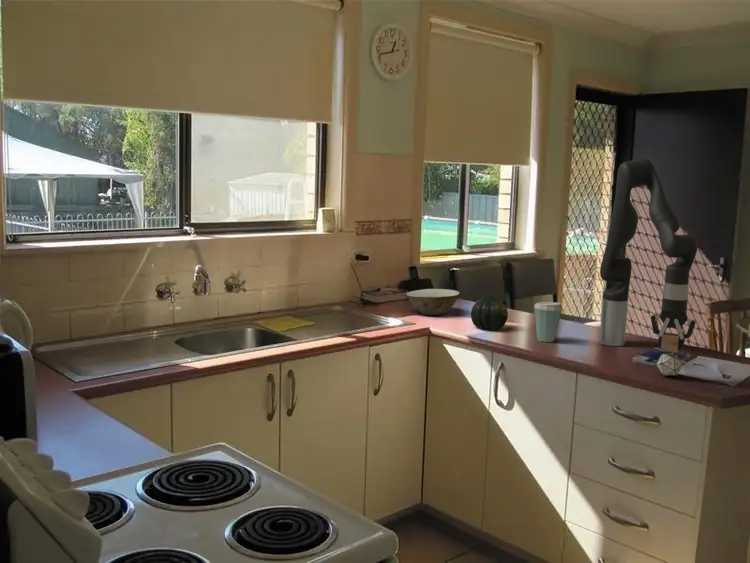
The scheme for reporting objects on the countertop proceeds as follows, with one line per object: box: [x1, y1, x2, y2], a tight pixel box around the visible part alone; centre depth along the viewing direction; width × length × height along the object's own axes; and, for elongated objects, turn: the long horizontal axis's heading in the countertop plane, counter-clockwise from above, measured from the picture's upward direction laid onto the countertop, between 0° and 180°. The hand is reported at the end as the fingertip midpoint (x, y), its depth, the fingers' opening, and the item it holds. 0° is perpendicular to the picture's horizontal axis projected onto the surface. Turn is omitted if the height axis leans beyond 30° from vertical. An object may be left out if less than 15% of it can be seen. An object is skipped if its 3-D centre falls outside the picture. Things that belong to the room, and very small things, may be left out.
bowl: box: [405, 288, 461, 316], centre depth 331 cm, size 24×24×10 cm
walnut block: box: [660, 331, 680, 354], centre depth 239 cm, size 5×5×5 cm
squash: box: [470, 292, 509, 331], centre depth 304 cm, size 14×15×15 cm
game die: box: [653, 351, 686, 378], centre depth 241 cm, size 9×8×10 cm
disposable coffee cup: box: [533, 301, 564, 343], centre depth 285 cm, size 11×11×15 cm
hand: (670, 348), depth 240 cm, fingers closed on walnut block, 5 cm apart
